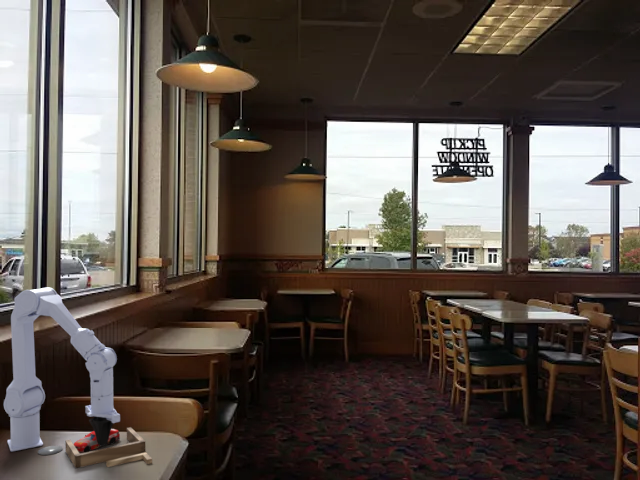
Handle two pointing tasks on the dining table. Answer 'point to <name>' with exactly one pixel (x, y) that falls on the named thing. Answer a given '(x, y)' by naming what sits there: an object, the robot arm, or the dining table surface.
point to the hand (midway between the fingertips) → (102, 443)
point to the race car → (95, 441)
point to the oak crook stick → (130, 459)
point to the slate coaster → (50, 450)
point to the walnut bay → (106, 451)
